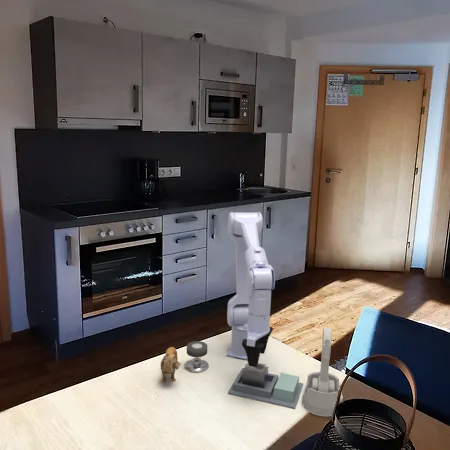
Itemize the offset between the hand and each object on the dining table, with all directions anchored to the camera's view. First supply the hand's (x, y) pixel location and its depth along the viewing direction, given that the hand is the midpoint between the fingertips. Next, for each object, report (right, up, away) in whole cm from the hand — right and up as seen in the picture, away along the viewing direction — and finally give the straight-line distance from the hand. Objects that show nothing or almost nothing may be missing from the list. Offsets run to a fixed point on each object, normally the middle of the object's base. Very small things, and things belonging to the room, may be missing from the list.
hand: (256, 359), depth 126 cm
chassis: (+3, -8, +1) cm, 9 cm away
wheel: (-17, -1, +10) cm, 20 cm away
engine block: (0, -8, +2) cm, 8 cm away
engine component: (+16, -10, -5) cm, 20 cm away
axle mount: (-17, -5, +11) cm, 21 cm away
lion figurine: (-24, -7, +6) cm, 25 cm away
